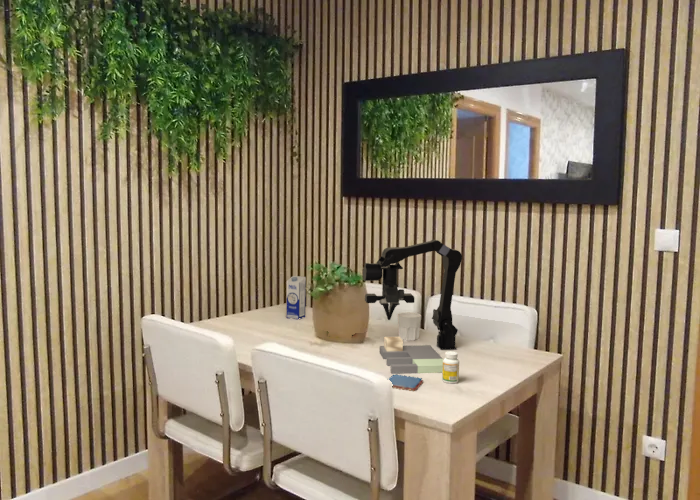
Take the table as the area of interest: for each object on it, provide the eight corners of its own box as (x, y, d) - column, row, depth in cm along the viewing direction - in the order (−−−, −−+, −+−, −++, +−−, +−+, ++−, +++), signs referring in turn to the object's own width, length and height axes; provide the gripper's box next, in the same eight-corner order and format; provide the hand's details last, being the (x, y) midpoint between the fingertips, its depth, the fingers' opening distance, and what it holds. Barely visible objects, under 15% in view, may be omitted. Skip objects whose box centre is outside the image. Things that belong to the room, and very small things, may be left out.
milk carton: (305, 316, 283) (306, 276, 281) (298, 319, 277) (299, 278, 275) (293, 315, 286) (293, 275, 284) (286, 318, 280) (286, 277, 278)
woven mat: (415, 393, 180) (415, 387, 180) (383, 388, 185) (383, 382, 184) (424, 383, 190) (424, 377, 190) (393, 378, 194) (393, 373, 194)
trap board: (430, 351, 226) (430, 345, 226) (448, 372, 200) (448, 365, 200) (379, 352, 224) (379, 345, 223) (391, 373, 198) (391, 366, 198)
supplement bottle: (453, 385, 187) (454, 356, 186) (439, 381, 191) (439, 353, 190) (461, 381, 191) (462, 352, 190) (447, 377, 195) (448, 349, 194)
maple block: (399, 346, 223) (399, 336, 222) (402, 351, 217) (402, 340, 216) (384, 346, 222) (384, 336, 222) (386, 351, 216) (387, 340, 216)
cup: (412, 342, 239) (413, 318, 238) (392, 338, 245) (392, 315, 244) (424, 337, 247) (425, 314, 246) (404, 333, 253) (405, 311, 252)
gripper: (369, 283, 215) (368, 325, 217) (418, 283, 217) (417, 324, 219) (364, 279, 226) (364, 318, 228) (411, 279, 228) (410, 318, 230)
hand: (388, 319), depth 226 cm, fingers closed
